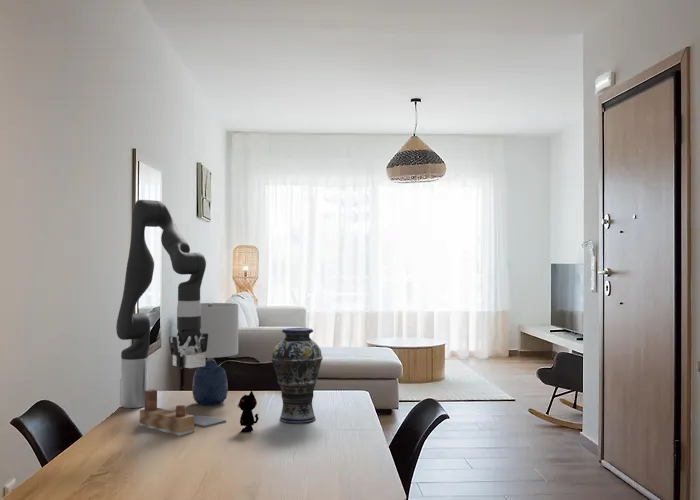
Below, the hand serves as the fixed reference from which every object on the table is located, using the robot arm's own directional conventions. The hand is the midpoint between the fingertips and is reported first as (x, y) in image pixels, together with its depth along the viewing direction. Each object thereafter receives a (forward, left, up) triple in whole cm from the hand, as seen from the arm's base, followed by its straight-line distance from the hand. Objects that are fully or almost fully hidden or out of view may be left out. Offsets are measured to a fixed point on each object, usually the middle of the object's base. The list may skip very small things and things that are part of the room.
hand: (188, 366), depth 224 cm
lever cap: (0, 0, 0) cm, 0 cm away
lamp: (-19, +25, -19) cm, 37 cm away
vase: (+23, +26, -19) cm, 39 cm away
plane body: (-1, -8, -18) cm, 20 cm away
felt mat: (+1, +5, -18) cm, 19 cm away
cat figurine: (+21, +6, -19) cm, 29 cm away
